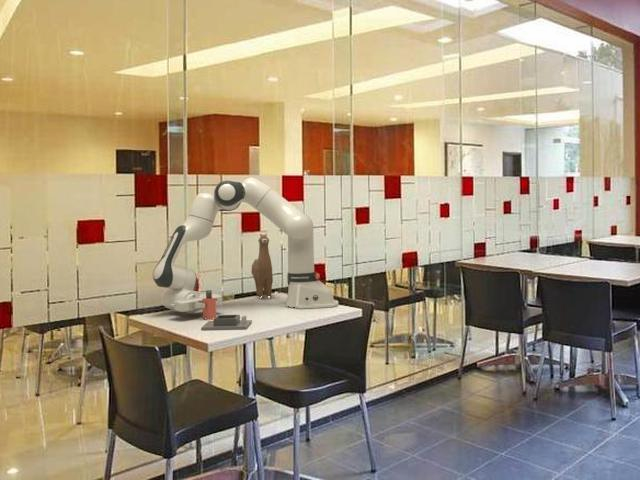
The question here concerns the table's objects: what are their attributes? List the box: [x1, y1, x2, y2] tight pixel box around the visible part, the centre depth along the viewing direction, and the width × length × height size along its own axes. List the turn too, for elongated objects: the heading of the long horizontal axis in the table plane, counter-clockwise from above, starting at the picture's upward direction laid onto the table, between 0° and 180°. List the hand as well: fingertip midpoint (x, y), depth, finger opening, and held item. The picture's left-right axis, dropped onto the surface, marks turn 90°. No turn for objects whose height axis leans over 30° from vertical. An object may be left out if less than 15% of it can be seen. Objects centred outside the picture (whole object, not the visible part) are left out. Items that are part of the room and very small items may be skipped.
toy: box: [250, 233, 274, 298], centre depth 287 cm, size 9×20×30 cm, turn 14°
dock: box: [200, 314, 253, 331], centre depth 221 cm, size 16×12×4 cm
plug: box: [202, 289, 217, 320], centre depth 238 cm, size 4×4×11 cm
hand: (210, 304), depth 237 cm, fingers closed on plug, 4 cm apart
